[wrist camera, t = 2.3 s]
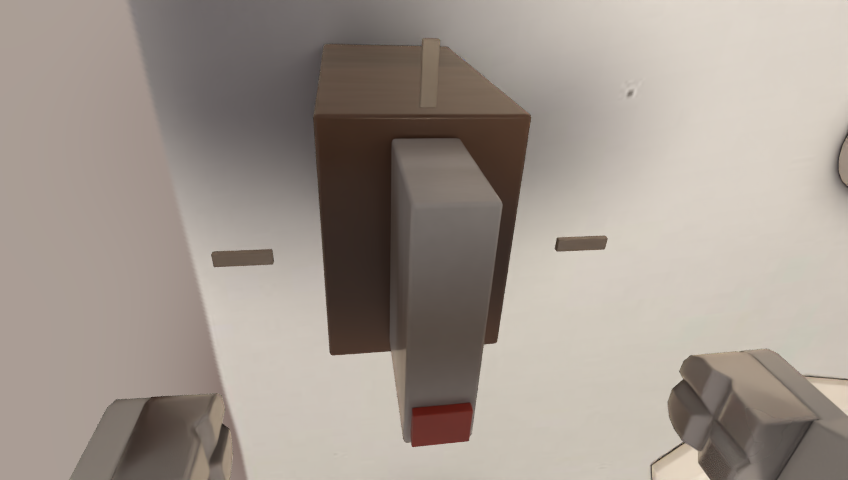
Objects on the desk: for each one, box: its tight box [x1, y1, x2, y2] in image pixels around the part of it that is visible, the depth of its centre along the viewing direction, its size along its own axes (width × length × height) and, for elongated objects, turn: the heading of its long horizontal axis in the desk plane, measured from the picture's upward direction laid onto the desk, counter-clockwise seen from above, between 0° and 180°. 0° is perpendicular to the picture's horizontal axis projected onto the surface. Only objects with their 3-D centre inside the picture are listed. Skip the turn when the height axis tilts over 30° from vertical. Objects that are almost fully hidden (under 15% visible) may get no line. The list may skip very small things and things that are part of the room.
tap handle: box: [390, 138, 503, 447], centre depth 11 cm, size 6×2×4 cm, turn 178°
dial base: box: [211, 38, 607, 355], centre depth 17 cm, size 10×10×10 cm
